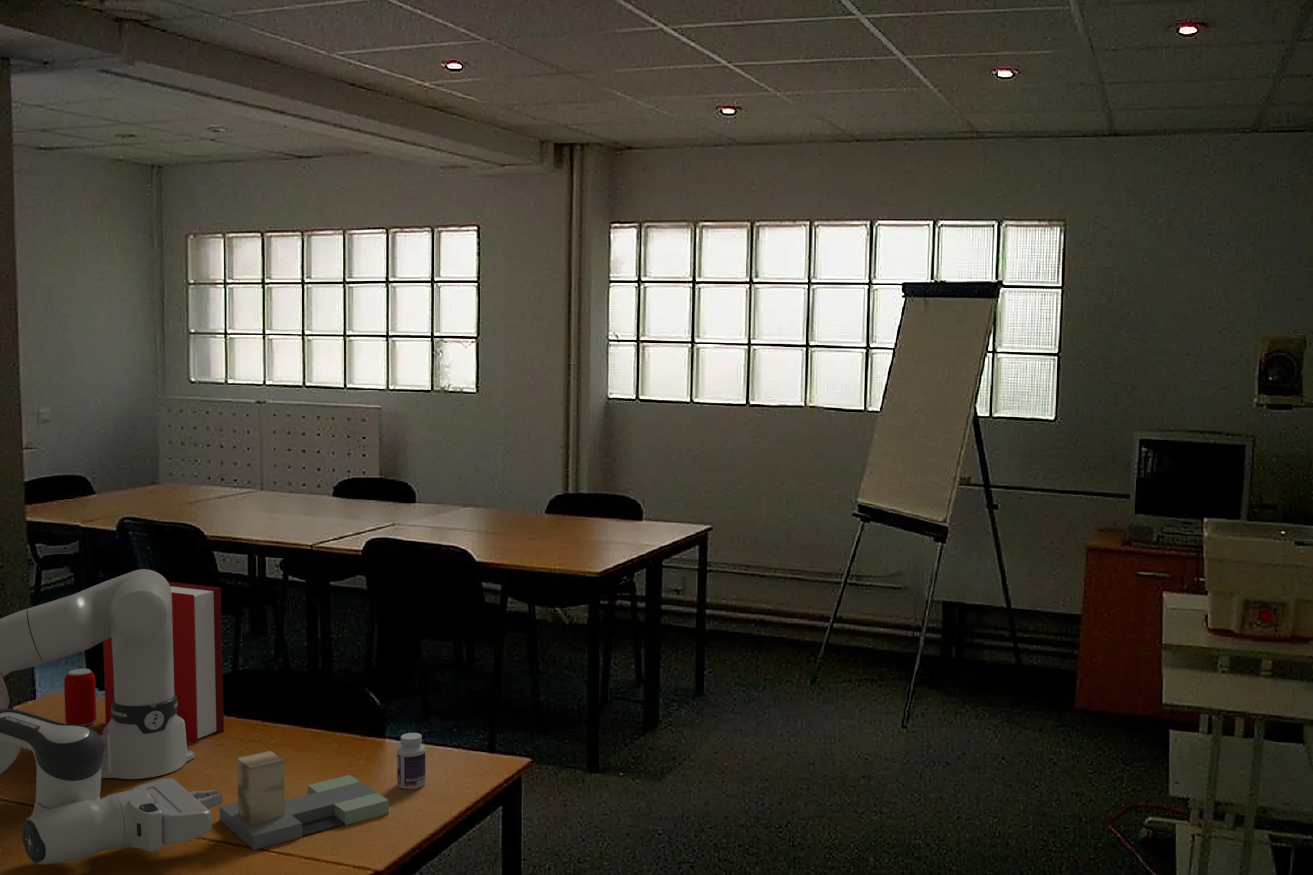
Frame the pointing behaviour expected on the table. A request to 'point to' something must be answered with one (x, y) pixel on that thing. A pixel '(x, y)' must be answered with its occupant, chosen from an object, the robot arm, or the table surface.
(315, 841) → the table surface
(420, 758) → the pill bottle
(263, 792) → the birch block
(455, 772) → the table surface
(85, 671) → the beverage can
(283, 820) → the board
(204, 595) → the book
